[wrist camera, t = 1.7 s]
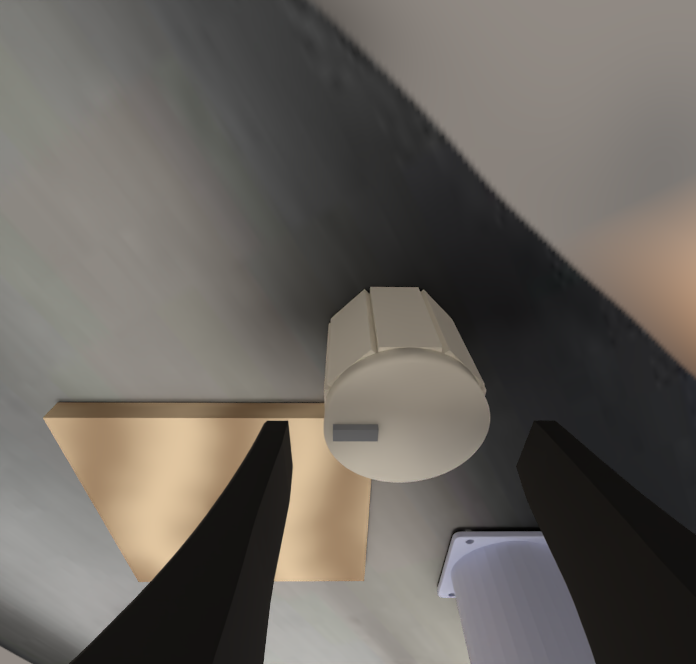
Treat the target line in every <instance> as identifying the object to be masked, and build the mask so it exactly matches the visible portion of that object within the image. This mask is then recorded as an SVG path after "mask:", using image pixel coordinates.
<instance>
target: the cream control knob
mask: <svg viewBox="0 0 696 664" xmlns="http://www.w3.org/2000/svg"><path fill="white" fill-rule="evenodd" d="M484 385H485V384H484V382H483V380H482V378H481V376H480V374H479V372H478V370H477V368H476V366H475V364H474V362H473V360H472V358H471V356H470V354H469V352H468V350H467V348H466V346H465V344H464V342H463V340H462V338H461V336H460V334H459V332H458V330H457V328H456V326H455V324H454V322H453V320H452V319H451V317H450V316H449V315H448V314H447V313H446V312H445V311H444V310H443V309H442V308H441V307H440V306H439V305H438V304H437V303H436V302H435V301H434V300H433V299H432V298H431V297H430V295H429V294H428V293H427V292H426V291H425V290H422V291H421V292H420V290H419V287H370V294H369V293H368V292H367V291H366V290H365V289H364V290H363V291H362V292H360V293H359V294H358V295H357V296H356V297H355V298H354V299H352V300H351V301H350V302H349V303H348V304H347V305H346V306H344V307H343V308H342V309H341V310H340V311H339V312H338V313H336V314H335V315H334V316H333V317H332V318H331V323H329V325H328V339H327V354H326V368H325V382H324V408H325V413H324V429H323V430H324V438H325V441H326V444H327V446H328V448H329V450H330V452H331V453H332V455H333V456H334V457H335V458H336V459H337V460H338V461H339V462H340V463H341V464H342V465H343V466H345V467H346V468H347V469H349V470H351V471H353V472H354V473H357V474H359V475H361V476H364V477H367V478H370V479H374V480H378V481H385V482H398V483H400V482H414V481H421V480H425V479H430V478H433V477H436V476H439V475H442V474H444V473H447V472H449V471H451V470H453V469H455V468H456V467H458V466H459V465H461V464H463V463H464V462H465V461H466V460H468V459H469V458H470V457H471V456H472V455H473V454H474V453H475V452H476V451H477V450H478V449H479V447H480V446H481V445H482V443H483V441H484V439H485V438H486V435H487V433H488V430H489V425H490V410H489V405H488V403H487V400H486V398H485V394H486V388H485V386H484Z"/></svg>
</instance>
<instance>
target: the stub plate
mask: <svg viewBox="0 0 696 664" xmlns="http://www.w3.org/2000/svg"><path fill="white" fill-rule="evenodd" d="M324 413H325V408H324V403H76V402H58V403H57V404H56V405H55V406H54V407H53V408H52V409H51V410H50V411H49V412H48V413H47V414H46V415H45V416H44V417H43V419H44V420H45V422H46V424H47V425H48V427H49V429H50V431H51V432H52V434H53V436H54V437H55V439H56V441H57V443H58V444H59V446H60V448H61V449H62V451H63V453H64V455H65V456H66V458H67V460H68V461H69V463H70V465H71V467H72V468H73V470H74V472H75V473H76V475H77V477H78V479H79V480H80V482H81V484H82V485H83V487H84V489H85V491H86V492H87V494H88V496H89V497H90V499H91V501H92V503H93V504H94V506H95V508H96V509H97V511H98V513H99V515H100V516H101V518H102V520H103V521H104V523H105V525H106V527H107V528H108V530H109V532H110V534H111V535H112V537H113V539H114V540H115V542H116V544H117V546H118V547H119V549H120V551H121V552H122V554H123V556H124V558H125V559H126V561H127V563H128V564H129V566H130V568H131V570H132V571H133V573H134V575H135V576H136V578H137V580H138V582H151V581H152V580H153V578H154V577H155V576H156V575H157V574H158V573H159V572H160V571H161V569H162V568H163V567H164V566H165V565H166V564H167V563H168V561H169V560H170V559H171V558H172V557H173V556H174V555H175V553H176V552H177V551H178V550H179V549H180V547H181V546H182V545H183V544H184V543H185V541H186V540H187V539H188V538H189V536H190V535H191V534H192V533H193V531H194V530H195V529H196V528H197V526H198V525H199V524H200V522H201V521H202V520H203V518H204V517H205V516H206V514H207V513H208V512H209V510H210V509H211V507H212V506H213V505H214V503H215V502H216V501H217V499H218V498H219V496H220V495H221V494H222V492H223V491H224V489H225V488H226V486H227V485H228V483H229V482H230V480H231V479H232V477H233V476H234V474H235V473H236V471H237V470H238V468H239V466H240V465H241V463H242V462H243V460H244V458H245V457H246V455H247V453H248V452H249V450H250V448H251V447H252V445H253V443H254V441H255V440H256V438H257V436H258V434H259V432H260V430H261V428H262V426H263V424H264V423H265V422H266V421H288V423H289V433H290V442H291V452H292V462H293V473H292V484H291V494H290V503H289V508H288V513H287V518H286V523H285V529H284V534H283V539H282V544H281V549H280V554H279V559H278V564H277V569H276V574H275V579H274V581H364V574H365V560H366V546H367V531H368V517H369V503H370V489H371V479H370V478H367V477H364V476H361V475H359V474H357V473H354V472H353V471H351V470H349V469H347V468H346V467H345V466H343V465H342V464H341V463H340V462H339V461H338V460H337V459H336V458H335V457H334V456H333V455H332V453H331V452H330V450H329V448H328V446H327V444H326V441H325V438H324V430H323V429H324Z"/></svg>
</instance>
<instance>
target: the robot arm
mask: <svg viewBox="0 0 696 664" xmlns="http://www.w3.org/2000/svg"><path fill="white" fill-rule="evenodd" d="M516 467H517V470H518V474H519V477H520V480H521V483H522V486H523V489H524V492H525V495H526V498H527V501H528V503H529V506H530V508H531V510H532V512H533V514H534V517H535V519H536V521H537V523H538V525H539V527H540V530H541V531H461V532H456V533H455V534H454V535H453V536H452V540H451V543H450V547H449V550H448V554H447V557H446V561H445V564H444V567H443V571H442V574H441V578H440V581H439V585H438V588H437V592H438V596H439V597H441V598H456V601H457V606H458V610H459V614H460V619H461V623H462V628H463V632H464V637H465V641H466V645H467V650H468V654H469V659H470V663H471V664H696V535H695V534H694V533H692V532H691V531H690V530H688V529H687V528H686V527H684V526H683V525H682V524H680V523H679V522H677V521H676V520H675V519H674V518H672V517H671V516H670V515H668V514H667V513H666V512H664V511H663V510H662V509H661V508H659V507H658V506H657V505H655V504H654V503H653V502H651V501H650V500H649V499H648V498H646V497H645V496H644V495H643V494H641V493H640V492H639V491H638V490H636V489H635V488H634V487H633V486H632V485H630V484H629V483H628V482H627V481H625V480H624V479H623V478H622V477H621V476H619V475H618V474H617V473H616V472H615V471H613V470H612V469H611V468H610V467H609V466H608V465H606V464H605V463H604V462H603V461H602V460H600V459H599V458H598V457H597V456H596V455H595V454H594V453H592V452H591V451H590V450H589V449H588V448H587V447H585V446H584V445H583V444H582V443H581V442H580V441H578V440H577V439H576V438H575V437H574V436H573V435H571V434H570V433H569V432H568V431H567V430H566V429H564V428H563V427H562V426H561V425H559V424H558V423H557V422H556V421H534V422H533V425H532V427H531V430H530V433H529V435H528V438H527V440H526V443H525V445H524V448H523V451H522V453H521V456H520V458H519V461H518V463H517V466H516ZM292 473H293V462H292V452H291V442H290V433H289V423H288V421H266V422H265V423H264V424H263V426H262V428H261V430H260V432H259V434H258V436H257V438H256V440H255V441H254V443H253V445H252V447H251V448H250V450H249V452H248V453H247V455H246V457H245V458H244V460H243V462H242V463H241V465H240V466H239V468H238V470H237V471H236V473H235V474H234V476H233V477H232V479H231V480H230V482H229V483H228V485H227V486H226V488H225V489H224V491H223V492H222V494H221V495H220V496H219V498H218V499H217V501H216V502H215V503H214V505H213V506H212V507H211V509H210V510H209V512H208V513H207V514H206V516H205V517H204V518H203V520H202V521H201V522H200V524H199V525H198V526H197V528H196V529H195V530H194V531H193V533H192V534H191V535H190V536H189V538H188V539H187V540H186V541H185V543H184V544H183V545H182V546H181V547H180V549H179V550H178V551H177V552H176V553H175V555H174V556H173V557H172V558H171V559H170V560H169V561H168V563H167V564H166V565H165V566H164V567H163V568H162V569H161V571H160V572H159V573H158V574H157V575H156V576H155V577H154V578H153V580H152V581H151V582H150V583H149V584H148V585H147V586H146V587H145V588H144V589H143V590H142V592H141V593H140V594H139V595H138V596H137V597H136V598H135V599H134V600H133V601H132V602H131V603H130V604H129V605H128V606H127V607H126V608H125V609H124V610H123V611H122V612H121V613H120V614H119V615H118V616H117V617H116V618H115V619H114V620H113V621H112V622H111V623H110V624H109V625H108V626H107V627H106V628H105V629H104V630H103V631H102V632H101V633H100V634H99V635H98V636H97V637H96V638H95V639H94V640H93V641H92V642H91V643H90V644H89V645H88V646H87V647H86V648H85V649H84V650H83V651H82V652H81V653H80V654H79V655H78V656H77V657H76V658H75V659H74V660H72V661H71V662H70V663H69V664H263V662H264V653H265V644H266V636H267V627H268V618H269V610H270V602H271V596H272V590H273V584H274V579H275V574H276V569H277V564H278V559H279V554H280V549H281V544H282V539H283V534H284V529H285V523H286V518H287V513H288V508H289V503H290V494H291V484H292Z"/></svg>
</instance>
